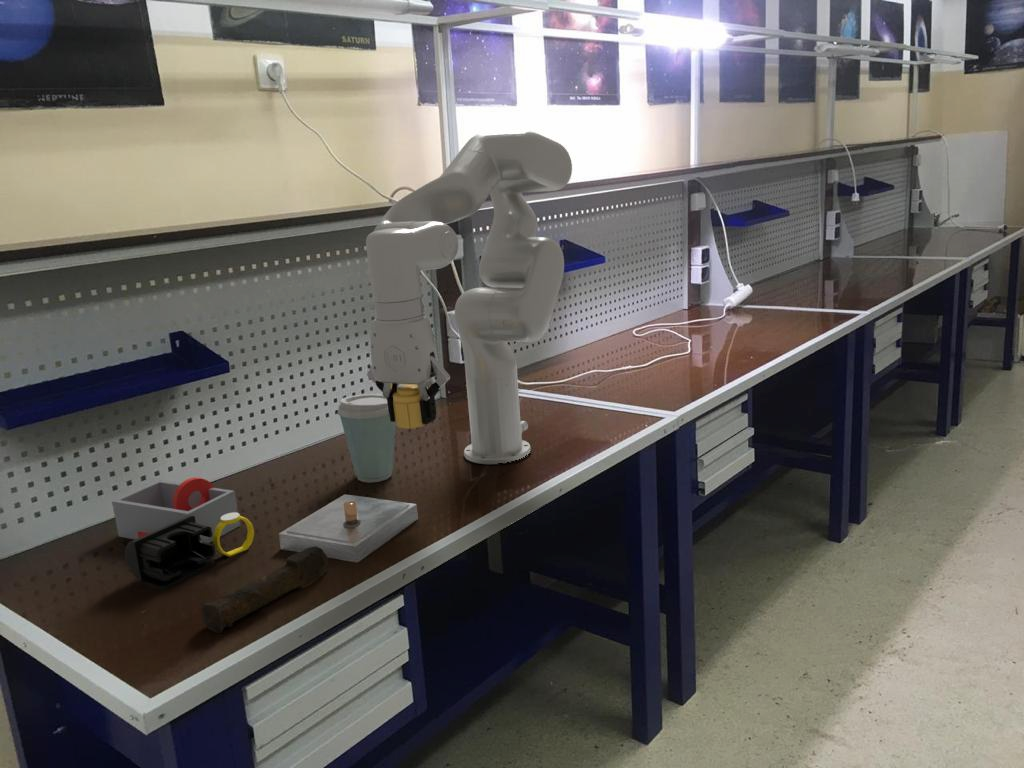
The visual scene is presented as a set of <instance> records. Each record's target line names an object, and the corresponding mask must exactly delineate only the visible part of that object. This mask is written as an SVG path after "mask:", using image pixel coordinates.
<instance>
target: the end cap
mask: <svg viewBox="0 0 1024 768" xmlns="http://www.w3.org/2000/svg"><path fill="white" fill-rule="evenodd" d="M200 535H202V536H206V537H212V530H211V527H209V526H205V525H201V524H197V523H196V521H195V516H187V517H185V518H183V519H181V520H178V521H176V522H174V523H172V524H169V525H167V526H165V527H163V528H160V529H158V530H156V531H154V532H151V533H149V534H147V535H145V536H142V537H140V538H138V539H136V540H135V539H132V541H129V542H128V543H127V545H126V547H125V549H124V558H125V562H126V566H127V568H128V570H129V571H130V573H131V575H133V577H134V578H136V580H138V581H139V582H141V583H142V584H144V585H146V586H148V587H151V588H154V589H157V590H160V591H166V590H169V589H170V588H172V587H174V586H176V585H179V584H180V583H182V582H184V581H186V580H188V579H190V578H192V577H194V576H195V575H198V574H199V573H203V572H204V571H205V570H207V569H209V568H212V567H213V566H215V565H216V559H214V557H215V555H216V548H215V546H214V544H213V543H211V542H210V543H206V542H203V541H202V540H201V538H200Z"/></svg>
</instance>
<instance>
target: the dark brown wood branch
mask: <svg viewBox="0 0 1024 768" xmlns="http://www.w3.org/2000/svg"><path fill="white" fill-rule="evenodd" d="M329 569H330V565H329V558H328V557H327V555H326V554H325V553H324V551H323V550H322V548H319V547H317V546H316V547H310V548H307V549H305V550H304V551H301V552H294V553H293V554H292V555H289V556H288V557H287V558H286V563H285V564H284V565H282V566H281V567H279V568H277V569H276V570H274V571H272V572H270V573H268V574H266V575H264V576H262V577H260V578H258V579H256V580H254V581H252V582H250V583H249V584H247V585H245V586H243V587H241V588H238V589H237V588H236V590H234V591H232V592H230V593H229V594H227V595H223V596H222V597H220V598H219V599H218V598H217V599H216V600H214V601H212V602H206V603H202V605H201V616H202V620H203V623H204V624H205V626H206V628H207V629H208V630H210V631H212V632H214V633H216V634H222V633H223V631H224V629H225V628H232V627H233V626H234V623H236V622H237V621H239V620H241V619H242V618H244V617H246V616H248V615H249V614H251V613H253V612H255V611H256V610H258V609H260V608H263V607H265V606H267V605H268V604H270V603H271V602H274V601H275V600H277V599H279V598H280V597H282V596H284V595H286V594H288V593H289V592H291V591H294V590H304V589H306V588H307V587H309V586H311V585H312V584H314V583H315V582H316V581H318V580H320V578H322V576H324V575H325V574H326V573H327V572H328V571H329Z"/></svg>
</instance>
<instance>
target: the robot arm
mask: <svg viewBox="0 0 1024 768" xmlns="http://www.w3.org/2000/svg"><path fill="white" fill-rule="evenodd" d="M572 172H573V164H572V159H571V155H570V154H569V152H568V150H567V149H566V148H565V146H563V145H562V144H561V143H560V142H557V141H556V140H552V139H550V138H548V137H546V136H544V135H541V134H540V133H537V132H536V131H535V132H534V131H531V130H528V129H509V130H499V131H487V132H483V133H482V132H481V133H478V134H476V135H473V136H472V137H471V138H470V139H468V141H467V142H466V143H465V144H464V145H463V147H462V148H461V149H460V151H459V152H458V153H457V154H456V156H455V157H454V159H452V161H451V162H450V164H449V165H447V167H446V168H445V170H444V171H443V172H442V174H440V176H439V177H437V178H435V179H433V180H432V181H429V182H428V183H425V184H424V185H422V186H420V187H419V188H418V189H416V190H414V191H412V192H410V193H408V194H407V195H405V196H404V197H402V198H401V199H399V200H398V201H396V202H395V203H394V204H392V206H391V207H389V209H388V210H387V211H386V213H385V214H384V216H382V218H381V219H380V220H379V221H378V223H377V225H376V226H375V228H374V230H373V231H372V232H370V233H368V235H367V237H366V240H365V245H366V254H367V260H368V261H367V263H368V270H369V277H370V284H371V291H372V298H373V301H371V302H370V303H369V304H368V305H369V306H368V307H369V310H370V311H371V312H372V311H373V312H374V314H375V318H374V319H372V320H371V325H370V359H371V360H370V362H371V366H370V368H369V369H368V370H367V373H366V375H367V377H368V379H370V380H371V381H372V382H373V383H374V384H375V386H376V387H377V388H378V389H379V390H380V391H381V392H382V395H383V396H384V397H385V398H387V404H388V411H389V414H390V421H391V422H395V414H394V407H393V394H394V393H395V392H397V388H398V387H400V385H408V384H415V385H417V386H418V389H419V391H420V393H421V396H422V398H423V400H421V401H420V409H421V418H422V423H423V424H426V425H428V424H430V423H432V422H434V421H435V420H436V419H437V407H436V397H435V396H437V395H438V393H439V392H440V390H441V389H442V388H443V387H444V385H445V384H447V383H448V381H450V379H451V375H450V374H449V373H448V372H447V371H446V369H445V368H444V366H442V365H441V363H440V362H439V357H438V349H437V346H436V344H437V343H436V340H435V336H434V332H433V328H432V326H431V322H430V318H429V316H427V315H425V308H424V301H423V300H424V299H423V291H422V282H421V274H420V272H421V271H427V270H428V271H429V270H438V269H443V268H445V267H447V266H448V265H449V264H451V263H452V262H453V261H454V260H455V258H456V256H457V254H458V250H459V239H458V235H457V233H456V232H455V230H454V229H453V228H452V227H451V226H450V225H448V224H451V223H455V222H458V221H460V220H463V219H465V218H468V217H470V216H472V215H474V214H475V213H477V212H478V211H479V210H480V208H481V207H482V206H483V204H484V203H485V201H486V200H487V198H488V197H489V195H490V200H491V203H492V206H493V220H492V224H491V227H490V230H489V233H488V235H487V239H486V241H485V244H484V248H483V251H482V254H481V257H480V261H479V266H478V274H479V279H480V280H481V282H482V283H483V284H485V285H486V286H487V287H484V286H483V287H474V288H471V289H468V290H466V291H464V292H463V293H462V294H460V296H459V297H458V298H457V299H456V302H455V305H454V319H455V323H456V324H455V325H456V328H457V331H458V335H459V339H460V343H461V347H462V352H463V361H464V370H465V372H464V373H465V382H466V395H467V404H468V405H467V407H468V416H469V419H468V420H469V428H470V429H469V430H470V440H471V442H470V444H469V445H467V446H466V447H465V448H464V449H463V455H464V458H465V459H466V460H467V461H469V462H472V463H474V464H479V465H480V464H481V465H499V464H498V463H503V464H508V463H507V462H509V463H512V462H511V461H514V462H516V461H515V460H517V461H520V460H522V459H524V458H526V457H527V456H529V455H528V454H529V453H531V452H532V450H531V449H532V448H531V445H530V443H529V442H528V441H527V440H523V438H522V437H523V436H522V434H523V432H525V431H526V430H528V428H529V424H528V422H527V421H526V420H521V412H520V411H521V409H520V397H519V396H520V395H519V385H518V384H519V379H518V367H517V361H516V357H515V354H514V353H513V350H512V349H511V347H510V345H509V344H508V342H522V343H523V342H526V343H529V342H530V343H531V342H535V341H536V342H537V341H538V340H540V339H541V338H543V336H544V335H545V334H546V333H547V330H548V328H549V325H550V322H551V320H552V316H553V312H554V309H555V307H556V302H557V299H558V296H559V293H560V289H561V286H562V282H563V279H564V273H565V272H564V271H565V258H564V252H563V250H562V248H561V245H560V244H558V242H557V241H555V240H554V239H552V238H549V237H546V236H545V237H544V236H540V237H539V236H536V234H537V231H538V227H539V223H538V219H537V216H536V213H535V212H534V210H533V208H532V207H531V206H530V205H529V203H528V202H527V200H526V199H525V197H524V195H523V193H539V192H541V193H543V192H555V191H560V190H561V189H564V188H565V187H566V186H567V185H568V183H570V180H571V177H572ZM435 377H436V380H435V381H434V380H433V378H435ZM426 425H425V426H426ZM530 451H531V452H530ZM526 455H527V456H526ZM525 456H526V457H525ZM523 457H524V458H523ZM521 458H522V459H521ZM519 459H520V460H519Z"/></svg>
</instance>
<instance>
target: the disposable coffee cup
mask: <svg viewBox="0 0 1024 768" xmlns="http://www.w3.org/2000/svg"><path fill="white" fill-rule="evenodd" d="M339 402H340V403H339V404H338V406H337V407H338V408H337V409H338V411H337V415H338V416H339V417H340V420H341V424H342V427H343V428H342V429H343V432H344V436H345V440H346V444H347V447H348V452H349V456H350V459H351V464H352V467H353V470H354V471H353V472H354V474H355V477H356V478H357V480H358V481H360V482H362V483H369V484H371V483H378V482H382V481H386V480H388V479H389V478H390V477H392V473H393V472H394V457H395V456H394V455H395V454H394V452H395V440H396V439H395V438H396V437H395V436H396V422H391V421H390V414H389V411H388V404H387V398H385V397H384V396H383V393H382V394H381V393H365V394H355V395H350V396H345V397H343V398H341V399H340V401H339Z"/></svg>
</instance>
